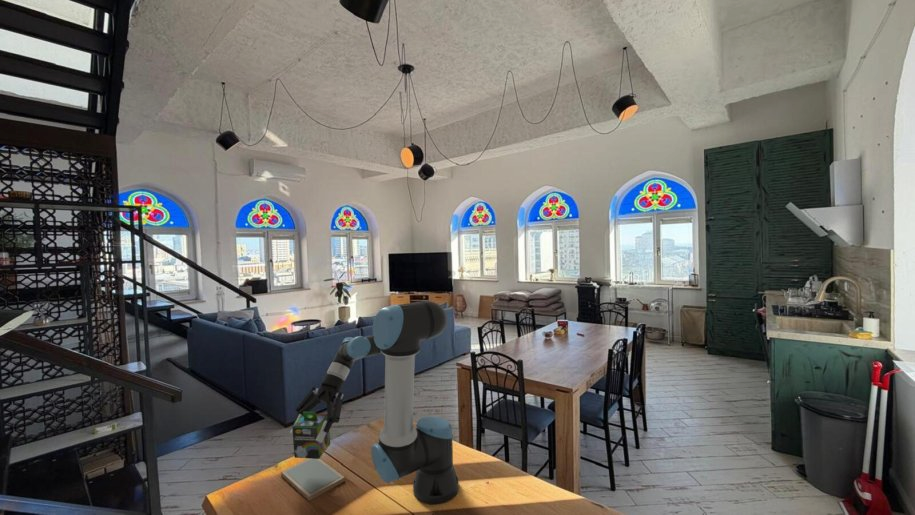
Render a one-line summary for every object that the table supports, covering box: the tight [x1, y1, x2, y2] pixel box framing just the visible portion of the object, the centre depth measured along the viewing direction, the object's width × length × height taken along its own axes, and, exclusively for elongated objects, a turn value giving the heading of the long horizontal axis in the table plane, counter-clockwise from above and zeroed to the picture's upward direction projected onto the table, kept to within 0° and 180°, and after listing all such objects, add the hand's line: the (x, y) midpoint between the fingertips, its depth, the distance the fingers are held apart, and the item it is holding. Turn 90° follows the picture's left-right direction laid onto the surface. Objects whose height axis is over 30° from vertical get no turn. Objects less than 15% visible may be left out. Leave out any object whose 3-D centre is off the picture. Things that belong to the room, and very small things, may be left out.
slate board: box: [280, 457, 346, 502], centre depth 136 cm, size 20×13×2 cm, turn 48°
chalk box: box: [291, 411, 331, 459], centre depth 134 cm, size 9×9×15 cm
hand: (305, 438), depth 132 cm, fingers closed on chalk box, 11 cm apart
